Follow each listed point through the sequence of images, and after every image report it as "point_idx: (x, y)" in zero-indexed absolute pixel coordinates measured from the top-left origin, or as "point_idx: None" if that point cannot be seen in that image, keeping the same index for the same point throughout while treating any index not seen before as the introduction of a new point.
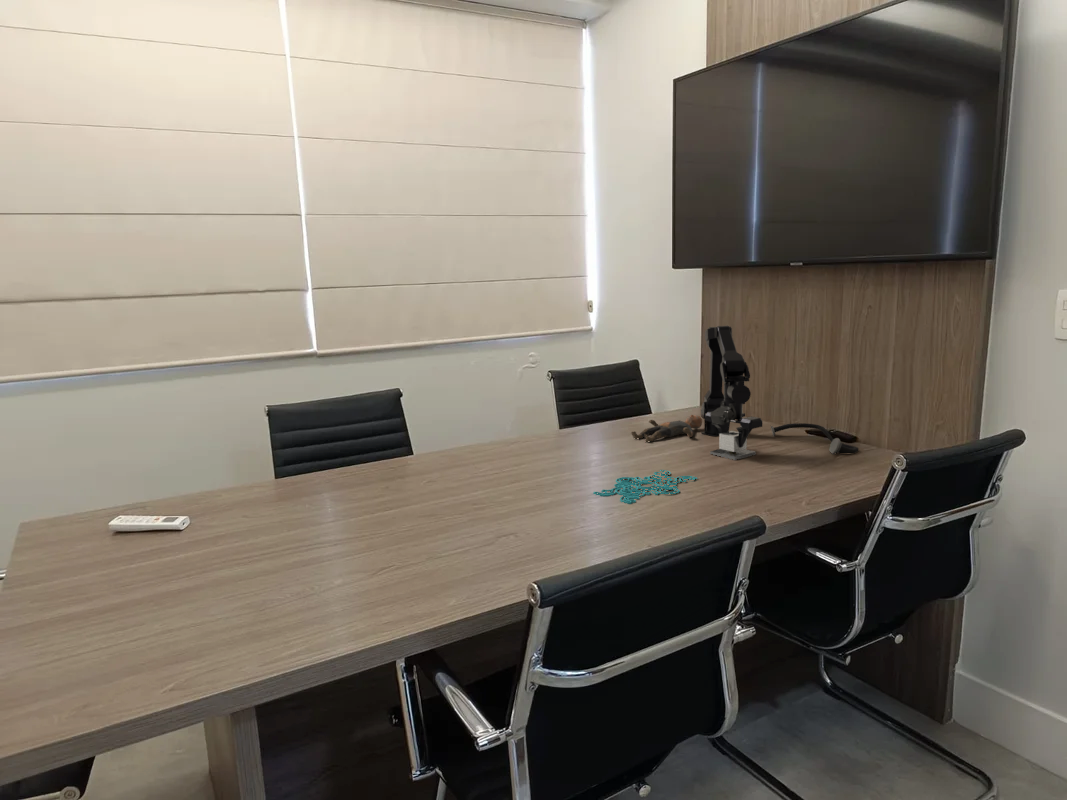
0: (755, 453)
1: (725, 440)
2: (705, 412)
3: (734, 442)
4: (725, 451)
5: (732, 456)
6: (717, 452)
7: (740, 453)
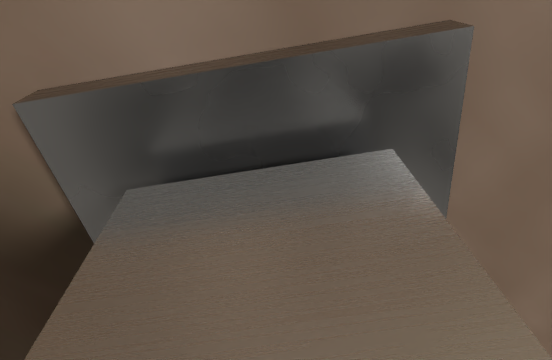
0: None
1: (285, 273)
2: None
3: (63, 310)
4: None
5: (55, 99)
6: (352, 72)
7: None
